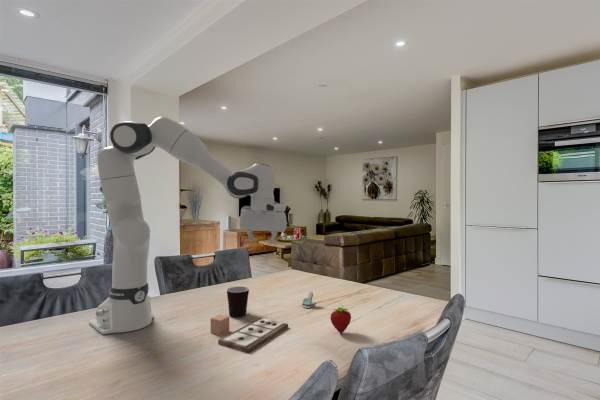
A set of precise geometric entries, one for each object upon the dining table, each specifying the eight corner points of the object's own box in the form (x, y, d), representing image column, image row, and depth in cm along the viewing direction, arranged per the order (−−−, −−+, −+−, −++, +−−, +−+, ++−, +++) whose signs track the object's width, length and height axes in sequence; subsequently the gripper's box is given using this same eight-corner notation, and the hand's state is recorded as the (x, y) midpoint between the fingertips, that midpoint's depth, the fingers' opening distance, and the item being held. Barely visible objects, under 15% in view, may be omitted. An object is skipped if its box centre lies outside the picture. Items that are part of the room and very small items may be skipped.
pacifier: (306, 310, 130) (318, 307, 132) (305, 295, 130) (318, 293, 132) (298, 305, 136) (310, 302, 139) (297, 290, 136) (309, 288, 139)
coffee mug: (243, 319, 118) (244, 293, 118) (222, 317, 120) (222, 291, 120) (254, 309, 130) (254, 285, 130) (234, 307, 131) (235, 283, 131)
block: (210, 333, 106) (210, 318, 106) (219, 328, 110) (219, 314, 110) (220, 335, 104) (220, 320, 104) (229, 331, 108) (229, 316, 108)
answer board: (218, 343, 98) (218, 338, 98) (260, 320, 117) (260, 316, 117) (248, 353, 92) (248, 347, 92) (287, 327, 111) (287, 322, 111)
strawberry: (326, 331, 108) (326, 302, 108) (344, 328, 111) (345, 299, 111) (336, 338, 102) (336, 307, 102) (354, 334, 106) (355, 304, 106)
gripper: (236, 205, 123) (235, 240, 122) (279, 206, 112) (278, 245, 112) (246, 205, 128) (245, 239, 128) (289, 206, 118) (288, 243, 118)
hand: (261, 242), depth 120 cm, fingers open, 8 cm apart
